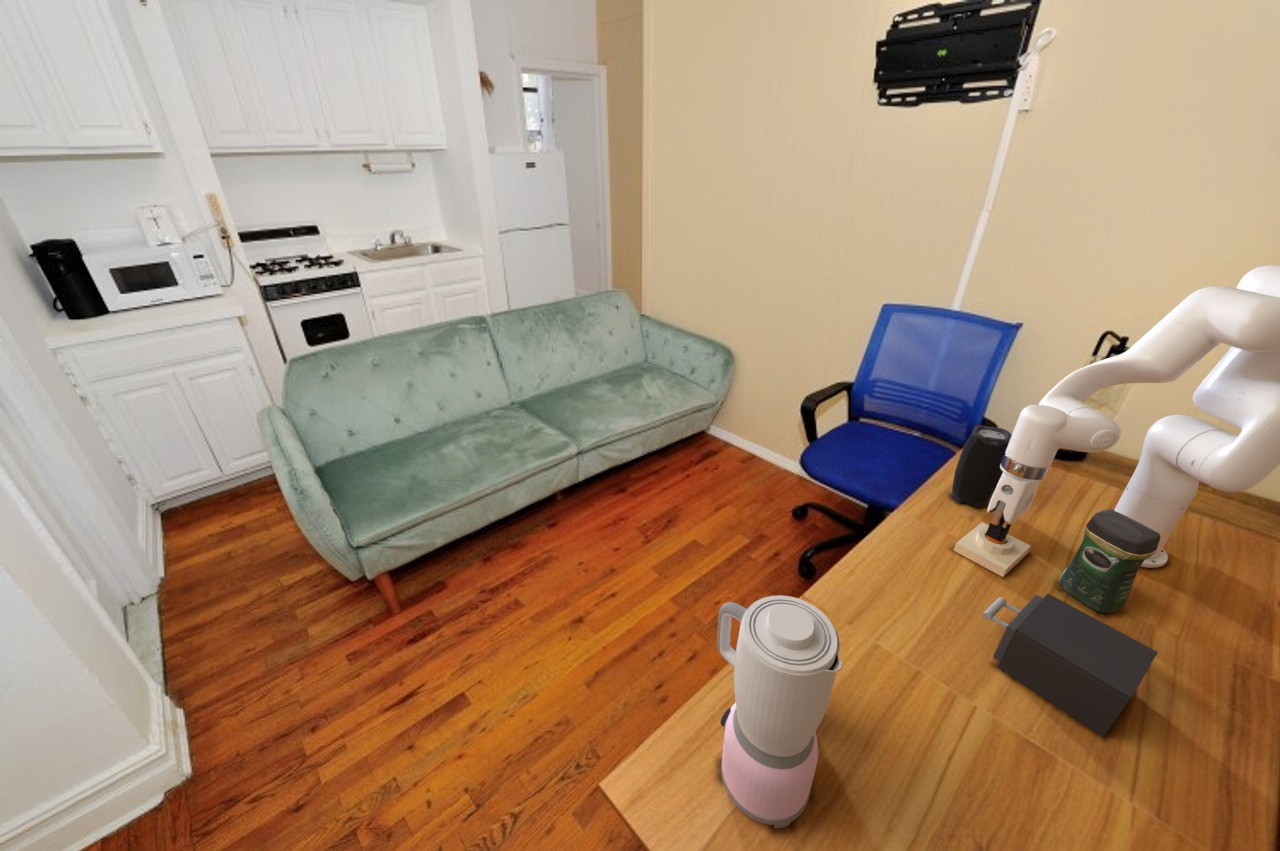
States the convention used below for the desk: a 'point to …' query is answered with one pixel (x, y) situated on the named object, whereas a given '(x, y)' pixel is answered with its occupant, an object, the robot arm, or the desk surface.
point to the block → (991, 550)
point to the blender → (775, 703)
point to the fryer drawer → (1010, 627)
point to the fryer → (1076, 662)
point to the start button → (995, 540)
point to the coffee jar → (1108, 561)
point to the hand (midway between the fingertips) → (995, 537)
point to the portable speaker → (980, 465)
